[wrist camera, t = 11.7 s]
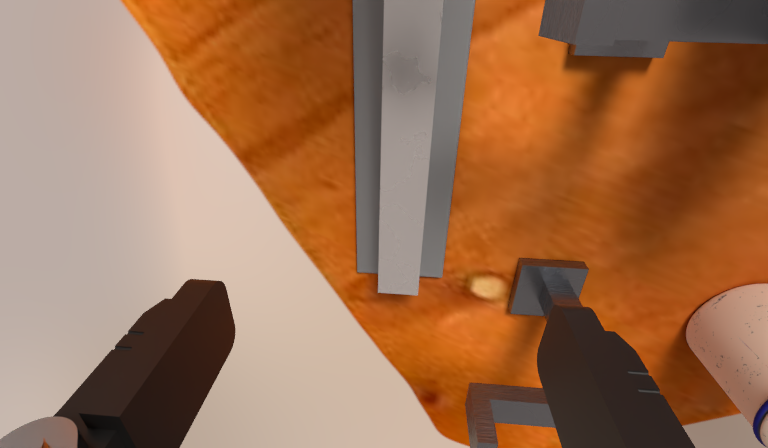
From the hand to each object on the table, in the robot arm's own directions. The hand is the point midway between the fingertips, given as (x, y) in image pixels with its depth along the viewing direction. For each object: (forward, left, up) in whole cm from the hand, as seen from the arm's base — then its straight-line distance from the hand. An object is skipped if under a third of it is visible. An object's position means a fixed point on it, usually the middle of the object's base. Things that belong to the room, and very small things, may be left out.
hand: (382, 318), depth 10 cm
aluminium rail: (0, 0, -18) cm, 18 cm away
